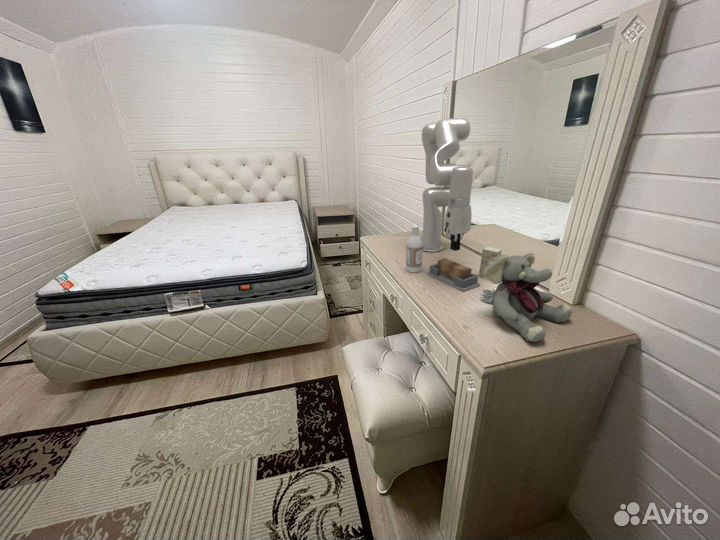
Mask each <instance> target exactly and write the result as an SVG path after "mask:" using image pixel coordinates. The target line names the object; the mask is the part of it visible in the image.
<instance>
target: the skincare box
mask: <svg viewBox="0 0 720 540" xmlns="http://www.w3.org/2000/svg"><path fill="white" fill-rule="evenodd" d="M502 251H503V249H501V248H497V247H491V246H485V247H484V248H483V249H482V253H481V259H480V265H479V272H478V277H481V278H483V279H486V278H485V277H484V275H483V272H484V269H485V266H486V265H487V263H488V262H489V261H490V260H491V259H493V258H496V257H498V256H500V255H502Z"/></svg>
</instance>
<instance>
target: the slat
mask: <svg viewBox="0 0 720 540" xmlns="http://www.w3.org/2000/svg"><path fill="white" fill-rule="evenodd" d="M436 262H437V263H436V264H437V268H439V269H440V271H439V275H441V276H443V277H446V278H448V279H450V280H452V281H454V277H456V276H457V277H459V278H461V279H466V278H469V277H471V273H472V268H471V267H469V266H466V265H463V264H461V263H458V262H456V261H452V260H451V259H448V258H446V257H445V258H441V259H438V260H437V261H436Z"/></svg>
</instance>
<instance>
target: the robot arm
mask: <svg viewBox="0 0 720 540" xmlns="http://www.w3.org/2000/svg"><path fill="white" fill-rule="evenodd" d="M470 133H471V124H470V121H469V120H468V119H467V118H465V117H456V118H454V117H453V118H452V117H451V118H442V119H440V120H438V121H437V122H432V123H428V124H426V125H424V126H423V127H422V129H421V142H422V147H423V149H424V154H425V181H426V183H427V184H428V185H434V187H433V186H432V187H431V186H430V187H427V188H426V189H424V190H423V193H422V204H423V205H422V206H423V218H422V222H423V223H422V236H420V238H421V240H422V243H423V252H426V251H427V253H437V252H441V250H442V251H443V250H444V248H445V247H444V245H442V243H441V242H442V232H443V231H444V233H445V234H444V237H445V238H449V241H450V245H449V246H450V250H452V251H454V252H457V251H460V249H461V241H462V240H463V236H464V235H465V234H467V233H468V232H470V230H471V228H472V206H471V205H470V204H471V194H472V186H473V185H472V184H473V175H474V170H473V168H472V167H470V166H468V165H467V164H457V163H454V162H453V163H445V161H447V160H449V159H451V158H453V157H455V156H456V155H457V154H458V153H459V151H460V149H461V148H460V147H461V145H460V142H463V141H466V140H467V139H468V137H469V136H470V135H471V134H470ZM443 207H444V208H445V207H447V208H446V211H445V216H444V223H443V213H442V211H440V209H439V208H443ZM442 230H443V231H442Z"/></svg>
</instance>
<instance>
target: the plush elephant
mask: <svg viewBox="0 0 720 540" xmlns="http://www.w3.org/2000/svg"><path fill="white" fill-rule="evenodd" d="M535 262H536V258H535V253H532V252H529V253H526V254H524V255H510V256H509V255H507V254H501V255H500V256H498V257H496V258H493V259H491V260H490V261H489V262H488V263H487V265H486V266H485V269H484V272H483V275H484V277H485V278H484V277H483V278H484V279H485V280H487V281H489V282H490V283H491V284H492V285H493V284H494V285H497V286H496V289H492V290H490V289H488V288H487V289H483V290H482V293H481V294H480V296H479V300H480V302H484V303H487V304H491V305H492V310H493V313H494V314H495V315H496V316H497V317H499V318H501V319H502V320H503V322H505V323H506V324H507V325H509V326H510V327H511V328H512V329H514V330H517V332H518V333H519V332H520V333H519V334H520V335H521V336H522V337H523V339H524V338H525V339H526V340H525V341H527V342H528V341H530V342H529V343H536V342H540V341H542V340H544V339H545V338H546V336H547V330H546V329H545V327H544V326H542V325H540V324H538V323H534V322H533V321H531V320H532V319H533V318H534V317H536V316H537V317H538V318H542V319H546V320H548V321H551V322H553V323H556V324H557V323H564V322H567V321H568V320H569V319H570V318H571V316H572V315H573V310H572V308H571V307H570V306H569V305H567V304H566V303H563V304H560V305H559V306H556V307H555V306H552V305H549V304H548V303H550V302H551V301H552V300H554V295H553V294H552V293H551V292H545V291H541V290H538V289H537V290H536V289H535V288H537V287H538V286H539V285H540V283H543V282H547V281H548V280H550V279H551V278H552V276H553V272H552V270H551V268H544V269H541V270H538V271H537V270H536V269H534V268H532V266H533V264H534V263H535Z"/></svg>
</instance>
